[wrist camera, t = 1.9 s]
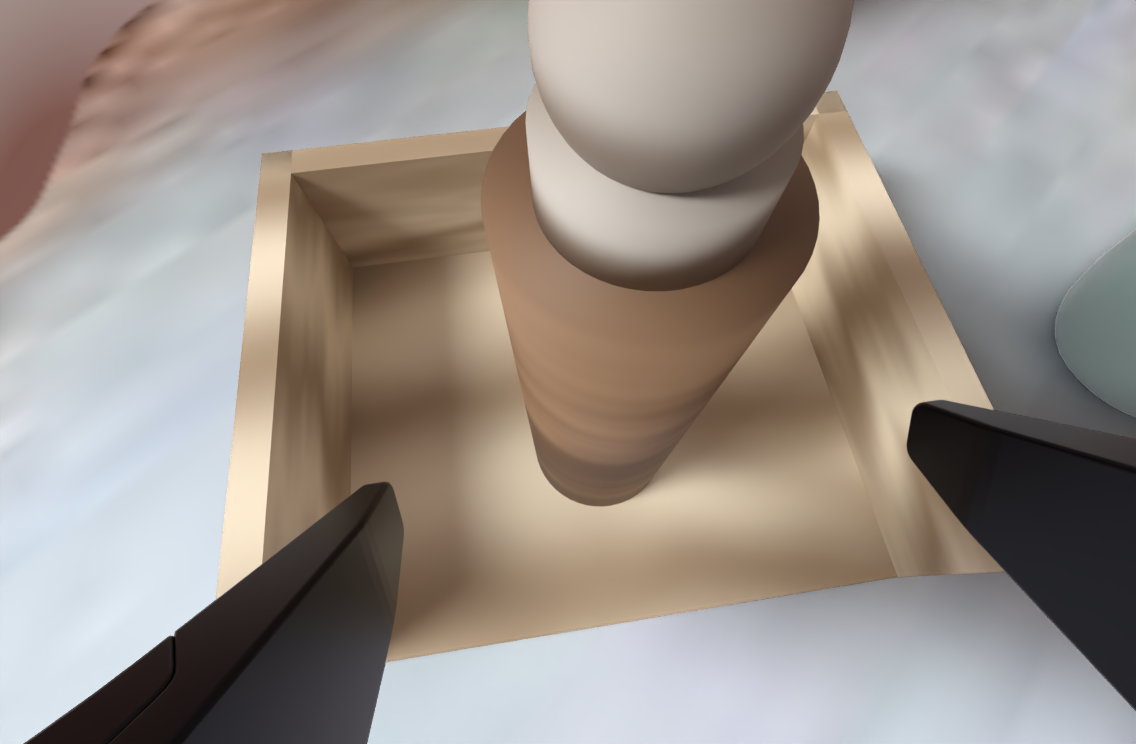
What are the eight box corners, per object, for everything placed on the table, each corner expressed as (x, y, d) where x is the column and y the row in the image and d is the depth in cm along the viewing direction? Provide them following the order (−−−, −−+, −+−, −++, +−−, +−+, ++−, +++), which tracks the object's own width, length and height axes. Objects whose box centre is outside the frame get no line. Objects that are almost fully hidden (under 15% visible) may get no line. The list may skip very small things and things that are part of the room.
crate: (915, 573, 18) (1069, 563, 12) (323, 671, 17) (204, 709, 11) (775, 205, 24) (837, 90, 19) (335, 259, 23) (261, 153, 17)
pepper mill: (640, 525, 18) (1072, 126, 3) (516, 480, 19) (269, -58, 3) (675, 406, 20) (1059, -263, 4) (560, 368, 20) (537, -337, 5)
